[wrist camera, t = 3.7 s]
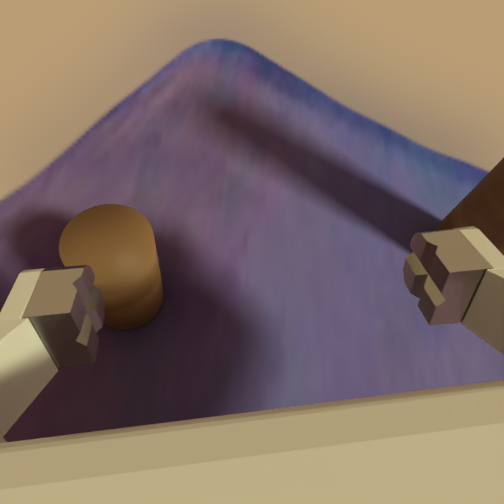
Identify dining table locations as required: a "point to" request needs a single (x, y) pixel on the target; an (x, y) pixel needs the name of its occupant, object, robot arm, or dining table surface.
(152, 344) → the dining table surface
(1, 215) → the dining table surface
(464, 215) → the long walnut pin
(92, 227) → the short walnut pin
